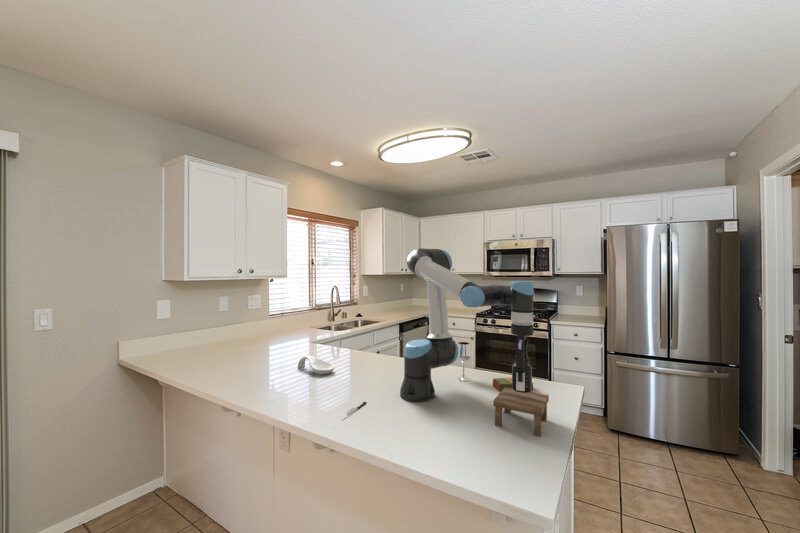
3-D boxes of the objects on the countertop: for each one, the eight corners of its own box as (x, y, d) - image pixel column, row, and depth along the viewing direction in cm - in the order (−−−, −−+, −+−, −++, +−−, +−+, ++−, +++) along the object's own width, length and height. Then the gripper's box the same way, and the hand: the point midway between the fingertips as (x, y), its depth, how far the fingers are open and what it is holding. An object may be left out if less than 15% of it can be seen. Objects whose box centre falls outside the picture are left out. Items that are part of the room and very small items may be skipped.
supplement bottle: (508, 386, 128) (509, 354, 128) (526, 386, 129) (526, 354, 129) (516, 393, 121) (516, 359, 121) (535, 393, 122) (535, 359, 122)
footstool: (541, 437, 114) (541, 410, 114) (493, 425, 122) (493, 400, 122) (548, 419, 128) (548, 395, 128) (504, 409, 136) (504, 387, 136)
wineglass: (471, 382, 168) (472, 345, 168) (454, 381, 169) (455, 344, 169) (471, 377, 176) (472, 342, 176) (455, 376, 177) (455, 341, 177)
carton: (533, 391, 157) (533, 382, 157) (499, 393, 155) (499, 383, 155) (524, 385, 165) (524, 376, 165) (492, 386, 163) (492, 377, 163)
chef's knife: (333, 422, 125) (340, 423, 124) (333, 419, 125) (340, 420, 124) (360, 403, 143) (366, 403, 142) (360, 400, 143) (366, 401, 142)
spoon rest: (339, 372, 183) (339, 359, 183) (323, 378, 173) (323, 364, 173) (308, 365, 196) (308, 352, 196) (291, 370, 186) (291, 357, 186)
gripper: (530, 328, 115) (530, 398, 114) (535, 320, 132) (535, 380, 132) (507, 326, 118) (506, 394, 118) (515, 319, 136) (514, 377, 136)
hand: (521, 387), depth 125 cm, fingers closed on supplement bottle, 7 cm apart
